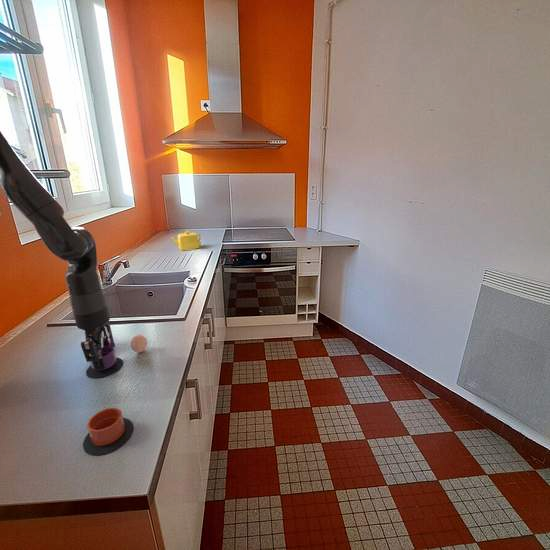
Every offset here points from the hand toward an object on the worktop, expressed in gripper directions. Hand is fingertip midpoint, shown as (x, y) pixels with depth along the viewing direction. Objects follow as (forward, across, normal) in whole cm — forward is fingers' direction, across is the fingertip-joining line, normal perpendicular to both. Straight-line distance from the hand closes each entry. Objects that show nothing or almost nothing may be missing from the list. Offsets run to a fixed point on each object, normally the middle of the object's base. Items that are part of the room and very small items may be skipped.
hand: (104, 362), depth 82 cm
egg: (+2, -6, +8) cm, 10 cm away
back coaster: (+2, 0, 0) cm, 2 cm away
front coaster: (+2, +25, +8) cm, 26 cm away
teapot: (+2, -136, +14) cm, 137 cm away
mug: (+2, -12, -4) cm, 13 cm away
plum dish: (+1, 0, 0) cm, 1 cm away
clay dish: (+1, +25, +8) cm, 26 cm away
